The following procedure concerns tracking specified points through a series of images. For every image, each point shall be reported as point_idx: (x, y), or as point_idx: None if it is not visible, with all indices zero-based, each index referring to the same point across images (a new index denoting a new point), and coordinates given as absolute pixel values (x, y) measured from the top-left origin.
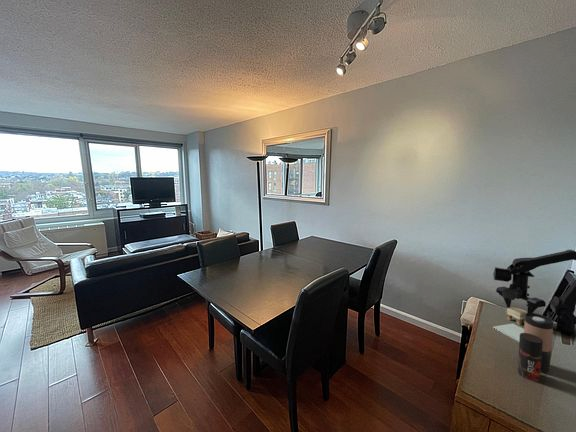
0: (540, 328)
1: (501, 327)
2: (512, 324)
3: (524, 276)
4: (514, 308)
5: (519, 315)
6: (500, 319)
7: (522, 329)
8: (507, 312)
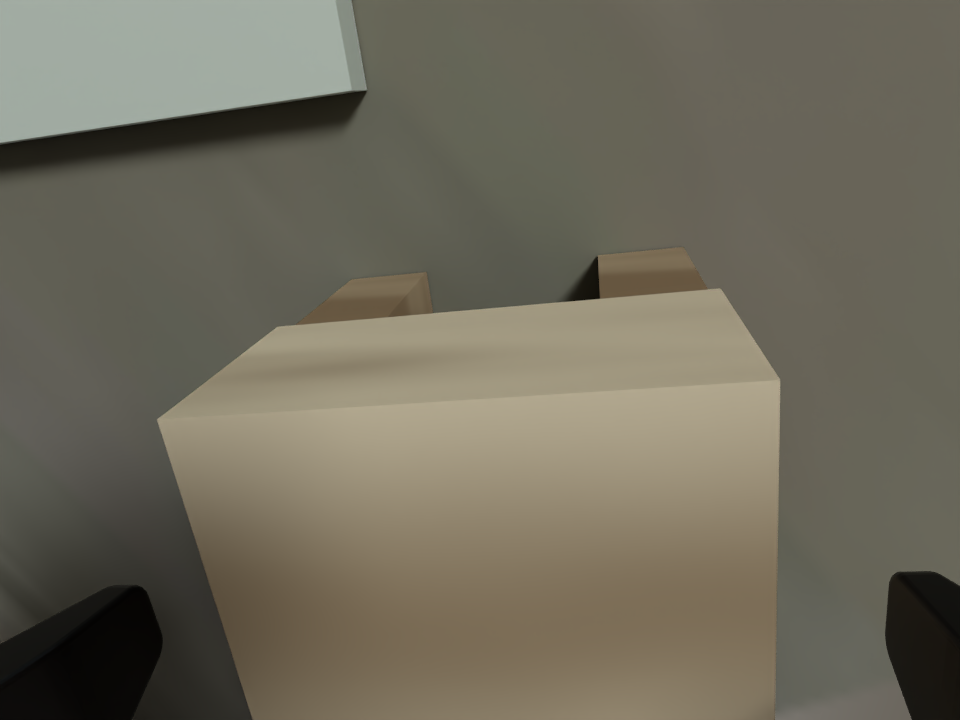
0: None
1: None
2: (293, 25)
3: None
4: (671, 687)
5: (215, 382)
6: (713, 15)
7: (31, 59)
8: (704, 308)
